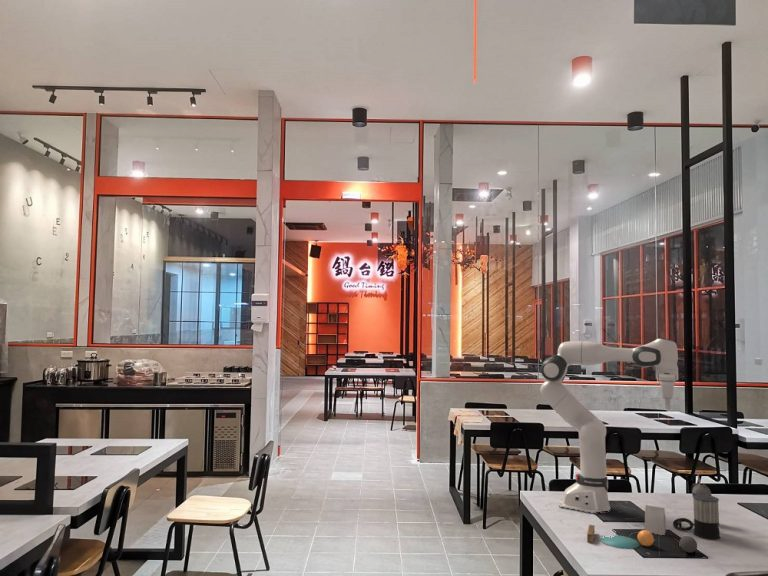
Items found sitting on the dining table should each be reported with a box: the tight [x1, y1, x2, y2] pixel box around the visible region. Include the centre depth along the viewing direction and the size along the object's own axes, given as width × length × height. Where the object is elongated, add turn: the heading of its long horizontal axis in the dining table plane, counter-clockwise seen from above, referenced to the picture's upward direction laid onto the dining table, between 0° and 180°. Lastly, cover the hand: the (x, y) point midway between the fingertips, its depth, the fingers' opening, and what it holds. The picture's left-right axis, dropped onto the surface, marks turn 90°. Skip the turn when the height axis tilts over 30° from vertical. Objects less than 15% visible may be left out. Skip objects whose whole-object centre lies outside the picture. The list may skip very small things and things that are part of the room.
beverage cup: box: [691, 472, 713, 496], centre depth 238 cm, size 7×7×20 cm
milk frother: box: [672, 494, 721, 541], centre depth 224 cm, size 14×16×15 cm
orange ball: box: [637, 529, 655, 547], centre depth 208 cm, size 6×6×6 cm
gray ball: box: [679, 535, 698, 554], centre depth 203 cm, size 6×6×6 cm
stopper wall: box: [586, 524, 596, 544], centre depth 216 cm, size 2×12×3 cm, turn 157°
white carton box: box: [644, 504, 667, 536], centre depth 223 cm, size 4×7×10 cm, turn 53°
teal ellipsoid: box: [599, 534, 641, 550], centre depth 212 cm, size 14×14×1 cm
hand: (667, 407), depth 244 cm, fingers open, 8 cm apart
